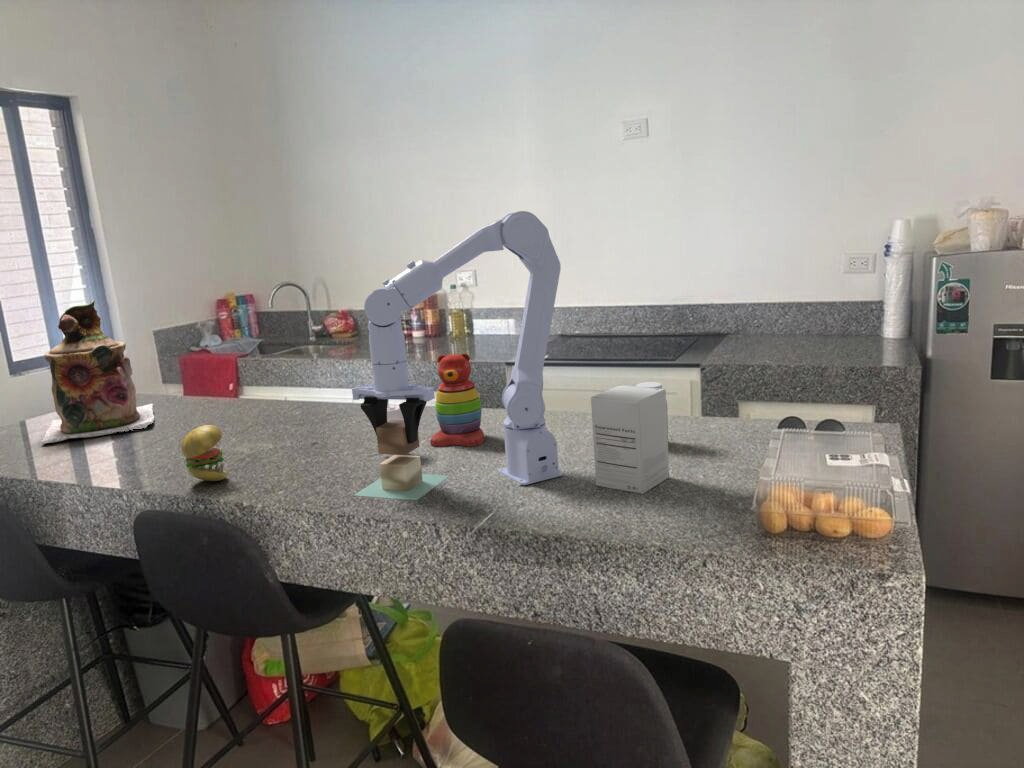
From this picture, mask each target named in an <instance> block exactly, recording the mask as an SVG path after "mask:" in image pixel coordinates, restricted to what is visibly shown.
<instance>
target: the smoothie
mask: <svg viewBox="0 0 1024 768" xmlns="http://www.w3.org/2000/svg"><path fill="white" fill-rule="evenodd" d="M399 404H400V403H390V399H388V405H387V422H389V421H391V420H404V419H403V415H402V412H401V410H400V407H399ZM382 456H383V457H384V458H390V457H392V456H393V455H391V454H382Z"/></svg>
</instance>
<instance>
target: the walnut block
mask: <svg viewBox="0 0 1024 768" xmlns="http://www.w3.org/2000/svg"><path fill="white" fill-rule="evenodd" d="M376 433H377V436H376V440H377V441H376V442H377V448H378V449H377V450H378V455H383V454H391V455H408V454H410V453H411V452H414V450H416V449H418V448H419V447H420V439H419V438H420V437H419V434H418V435H417V441H415V442H413V443H412V444H408V442H407V438H406V430H405V423H404V419H403V420H391V421H389V422H387V423H385V424H383V425H381V426H379V427H377V428H376ZM376 433H375V434H376Z"/></svg>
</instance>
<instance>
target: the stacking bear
mask: <svg viewBox="0 0 1024 768" xmlns="http://www.w3.org/2000/svg"><path fill="white" fill-rule="evenodd" d="M437 363H438V365H437V374H438V377H439V379H440V380H441V381H442V383H440V384H439V386H438V387H437V391H436V397H435V398H436V399H435V400H436V401H435V404H434V405H435V416H436V419H437V422H438V424H439V427H440V430H439V431H437V432H436V433H434V435H433V436H432V437H431V438H430V440H429V441H430V442H429V443H430V445H431V446H433V447H446V446H463V447H476V446H480V445H482V444H483V442H484V441H485V433H484V431H483V430H482V428H481V423H482V402H481V398H480V396H479V392H478V389H477V387H476V386H475V384H474V382H473V381H472V380H470V376H471V370H472V368H471V366H472V365H471V363H470V355H469V354H468V353H462V354H456V353H455V354H448V355H443V354H441V355H439V356H438V357H437Z"/></svg>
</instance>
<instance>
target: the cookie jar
mask: <svg viewBox="0 0 1024 768" xmlns="http://www.w3.org/2000/svg"><path fill="white" fill-rule="evenodd" d="M95 302H96V301H95V300H94V299H92V300H91V302H89V303H88V304H83V305H82V304H81V305H79V304H78V305H74V306H71V307H69V308H68V309H66V310H65V311H64V313H63V314H61V316H60V318H59V322H58V325H57V327H58V329H59V330H60V331H61V332H62V334H63V335H64V338H63V340H61V342H60V343H59V344H57V345H55V346H53V347H52V348H51V349H50V350H49V351H47V352H45V353H44V359H45V360H46V362H47V363H49V369H50V370H49V371H50V374H51V381H52V382H51V393H52V396H53V397H52V398H53V402H54V410H55V412H56V414H57V415H58V417H59V418H60V419H55V420H51V422H50V425H49V427H48V429H47V430H46V431H45V433H44V434H45V435H44V437H43V439H42V440H41V441H40V444H41V445H42V446H45V444H50V443H57V442H62V441H66V440H68V439H78V438H79V439H80V438H92V437H99V436H104V435H110V434H111V435H112V434H117V432H119V433H123V432H124V431H125V432H129V430H131V431H134V430H133V429H140V428H144V429H147V427H148V425H152V423H154V421H155V415H154V410H153V408H154V404H153V403H148V404H145V405H142V406H137V403H138V402H137V395H136V393H137V391H136V387H135V384H134V381H133V379H132V375H133V369H132V366H131V360H130V359H129V357H128V356H125V354H124V352H125V350H126V343H125V342H123V341H116V340H114V339H112V338H111V337H110V336H108V335H105V334H104V333H103V331H102V329H101V324H102V323H101V322H102V321H101V320H102V319H101V317H100V316H99V315H98V311H97V309H95ZM125 432H124V433H125Z"/></svg>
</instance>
